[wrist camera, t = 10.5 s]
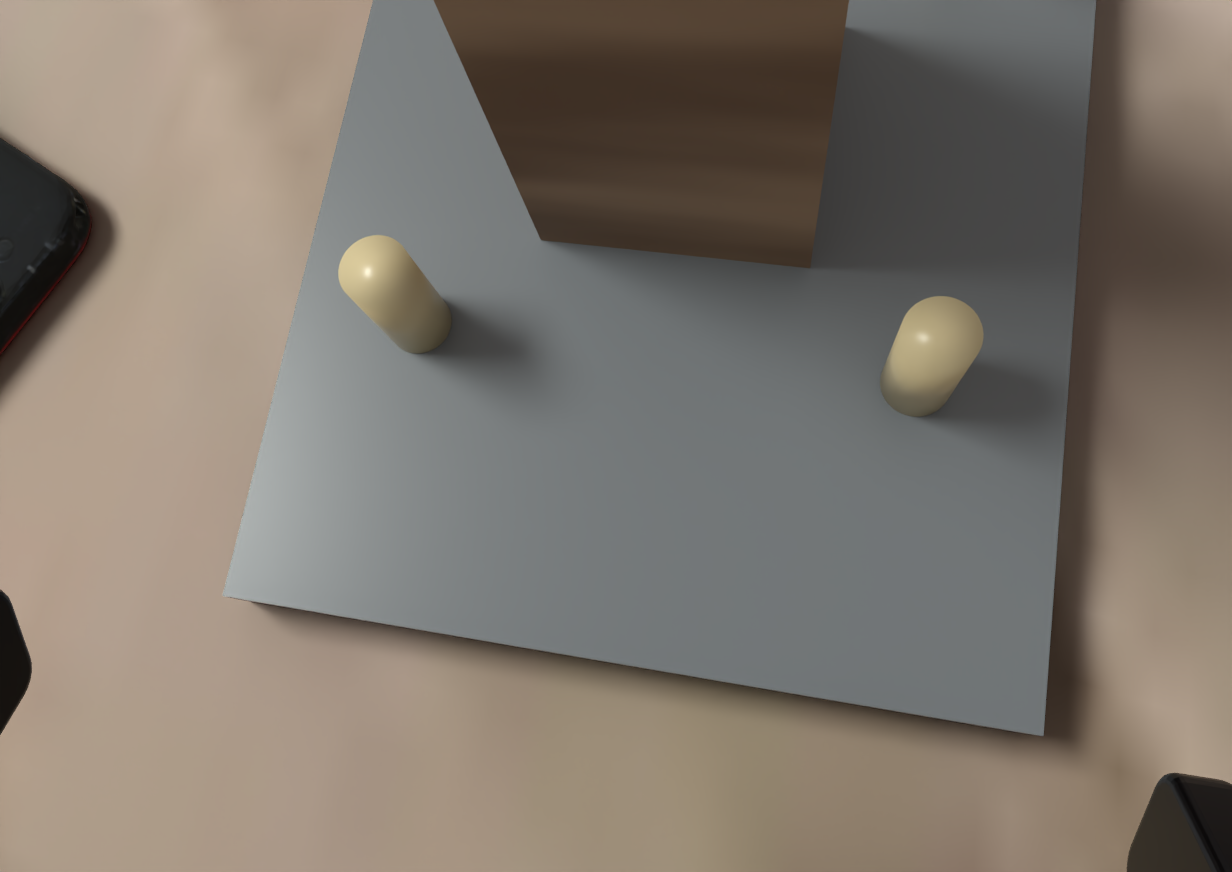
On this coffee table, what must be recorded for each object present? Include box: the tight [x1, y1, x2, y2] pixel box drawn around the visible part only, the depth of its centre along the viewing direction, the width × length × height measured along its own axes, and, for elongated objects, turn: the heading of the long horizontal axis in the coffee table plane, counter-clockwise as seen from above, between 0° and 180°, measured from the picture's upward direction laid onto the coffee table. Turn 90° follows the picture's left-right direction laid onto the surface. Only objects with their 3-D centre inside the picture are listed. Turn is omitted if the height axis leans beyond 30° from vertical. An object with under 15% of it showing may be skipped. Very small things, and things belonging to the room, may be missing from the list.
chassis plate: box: [223, 0, 1096, 736], centre depth 19 cm, size 20×14×4 cm
